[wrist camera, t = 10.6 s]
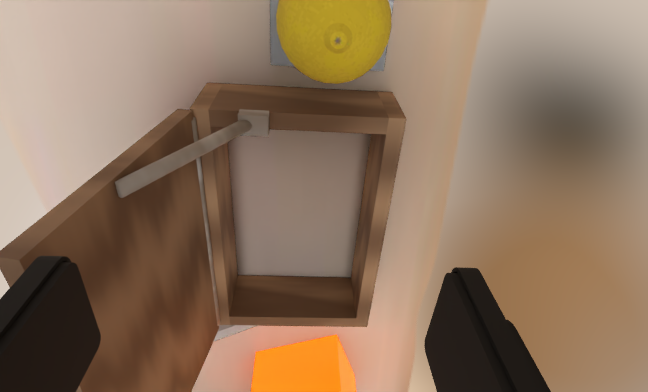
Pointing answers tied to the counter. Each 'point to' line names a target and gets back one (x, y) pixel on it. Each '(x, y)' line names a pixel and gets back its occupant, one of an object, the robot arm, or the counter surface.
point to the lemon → (333, 36)
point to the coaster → (278, 53)
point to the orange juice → (304, 368)
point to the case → (204, 234)
